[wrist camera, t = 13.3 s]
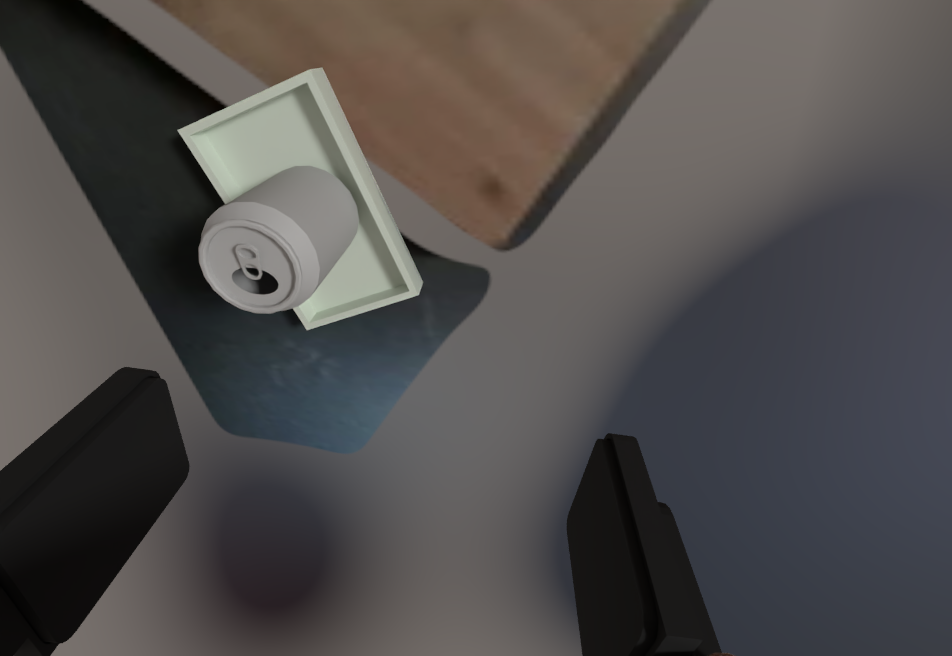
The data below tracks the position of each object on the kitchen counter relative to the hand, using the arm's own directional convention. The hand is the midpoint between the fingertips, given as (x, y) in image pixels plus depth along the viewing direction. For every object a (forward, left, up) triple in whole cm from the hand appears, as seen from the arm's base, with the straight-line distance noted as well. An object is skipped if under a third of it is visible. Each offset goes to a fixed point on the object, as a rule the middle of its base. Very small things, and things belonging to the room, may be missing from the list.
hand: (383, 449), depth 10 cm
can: (+6, -12, -30) cm, 33 cm away
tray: (+6, -12, -30) cm, 33 cm away
